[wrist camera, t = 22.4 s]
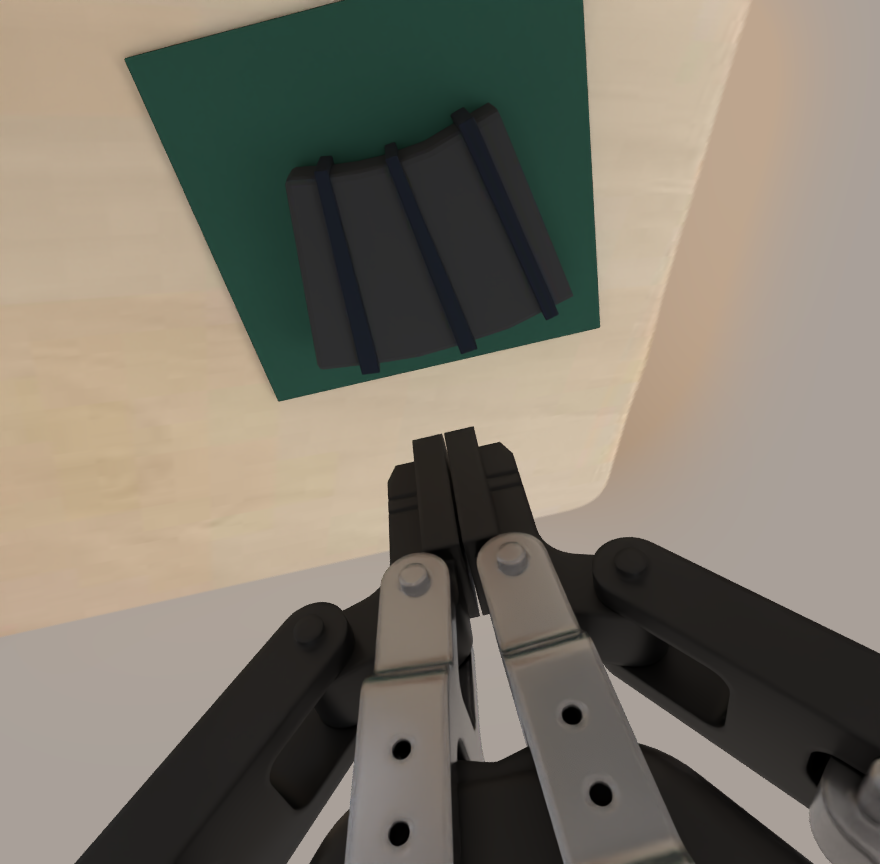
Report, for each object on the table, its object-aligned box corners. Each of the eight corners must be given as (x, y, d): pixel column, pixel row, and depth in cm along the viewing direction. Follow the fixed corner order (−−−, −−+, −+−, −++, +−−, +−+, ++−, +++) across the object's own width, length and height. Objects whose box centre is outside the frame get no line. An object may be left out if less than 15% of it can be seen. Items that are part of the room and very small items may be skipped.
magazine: (353, 418, 36) (578, 305, 33) (208, 229, 29) (479, 62, 26) (354, 387, 39) (561, 281, 36) (224, 209, 32) (468, 57, 29)
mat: (127, 57, 28) (123, 58, 28) (577, -62, 27) (580, -63, 27) (279, 398, 40) (278, 402, 39) (598, 324, 39) (600, 327, 38)
